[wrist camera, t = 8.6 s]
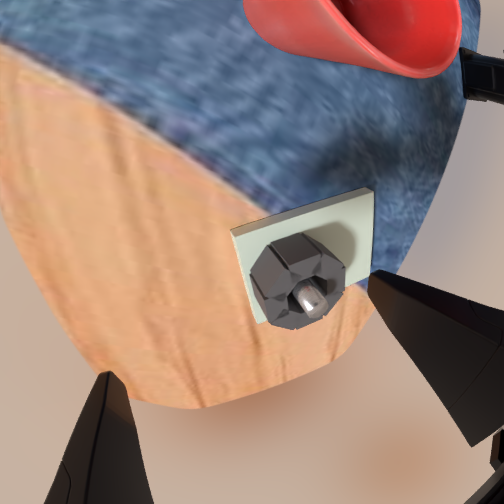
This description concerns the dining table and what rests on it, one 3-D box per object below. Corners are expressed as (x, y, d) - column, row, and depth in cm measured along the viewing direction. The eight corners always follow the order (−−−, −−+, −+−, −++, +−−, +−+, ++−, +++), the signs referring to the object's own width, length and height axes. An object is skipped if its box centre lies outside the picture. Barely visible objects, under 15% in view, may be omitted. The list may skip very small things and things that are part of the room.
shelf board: (365, 187, 22) (373, 191, 21) (362, 269, 27) (369, 275, 26) (230, 229, 20) (234, 237, 19) (253, 315, 25) (257, 324, 24)
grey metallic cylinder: (290, 252, 23) (328, 296, 18) (292, 267, 24) (328, 312, 19) (272, 258, 22) (307, 305, 18) (275, 274, 23) (308, 321, 18)
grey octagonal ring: (322, 224, 21) (346, 243, 18) (324, 286, 24) (343, 308, 22) (243, 251, 20) (258, 277, 17) (258, 313, 23) (272, 339, 21)
